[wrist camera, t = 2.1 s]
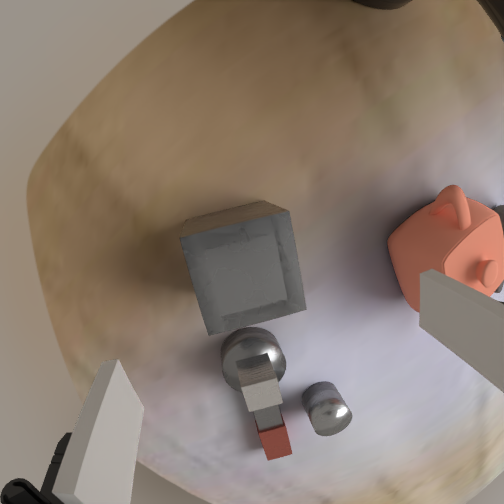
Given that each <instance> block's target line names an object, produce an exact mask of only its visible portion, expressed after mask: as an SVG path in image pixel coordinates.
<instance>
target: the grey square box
mask: <svg viewBox="0 0 504 504" xmlns="http://www.w3.org/2000/svg"><path fill="white" fill-rule="evenodd" d="M180 241H181V245H182V249H183V252H184V256H185V259H186V263H187V266H188V270H189V273H190V277H191V280H192V284H193V287H194V290H195V294H196V297H197V300H198V303H199V307H200V310H201V313H202V316H203V320H204V323H205V326H206V329H207V332H208V335H214V334H218V333H222V332H226V331H230V330H234V329H238V328H242V327H246V326H249V325H253V324H257V323H261V322H264V321H268V320H272V319H275V318H279V317H282V316H286V315H290V314H293V313H296V312H300V311H303V310H307V309H306V303H305V297H304V291H303V285H302V279H301V273H300V267H299V262H298V256H297V251H296V245H295V240H294V234H293V229H292V224H291V218H290V213H289V211H288V210H285V209H283V208H281V207H279V206H276V205H274V204H272V203H269V202H267V201H261V202H256V203H252V204H248V205H243V206H239V207H235V208H231V209H227V210H223V211H219V212H215V213H210V214H206V215H203V216H199V217H195V218H191V219H187V220H186V222H185V225H184V227H183V230H182V233H181V235H180Z"/></svg>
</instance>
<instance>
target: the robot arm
mask: <svg viewBox="0 0 504 504" xmlns="http://www.w3.org/2000/svg"><path fill="white" fill-rule="evenodd" d="M353 1H356V2H358V3H361V4H363V5H367V6H370V7H374V8H379V9H397V8H400V7H402V6H404V5H406V4H407V3H409V2H410V1H412V0H353ZM477 1H478V2H479V4H480V5H481V6H482V8H483V9H484V10H485V12H486V13H487V15H488V16H489V17H490V19H491V20H492V22H493V23H494V24H495V26H496V27H497V29H498V30H499V32H500V34H501V37H502V38H501V39H502V40H503V42H504V0H477ZM419 326H420V327H421V328H422V329H424V330H425V331H426V332H428V333H429V334H430V335H432V336H433V337H434V338H435V339H437V340H438V341H439V342H441V343H442V344H443V345H445V346H446V347H447V348H448V349H450V350H451V351H452V352H454V353H455V354H456V355H457V356H459V357H460V358H461V359H462V360H464V361H465V362H466V363H468V364H469V365H470V366H471V367H473V368H474V369H475V370H476V371H478V372H479V373H480V374H481V375H483V376H484V377H485V378H486V379H488V380H489V381H490V382H491V383H492V384H494V385H495V386H496V387H497V388H499V389H500V390H501V391H502V392H503V393H504V302H500V301H496V300H495V299H493V298H491V297H489V296H487V295H485V294H483V293H481V292H479V291H477V290H475V289H473V288H471V287H469V286H467V285H465V284H463V283H461V282H459V281H457V280H455V279H453V278H451V277H449V276H446V275H444V274H442V273H440V272H438V271H436V270H434V269H430V270H427V271H425V272H422V273H420V321H419ZM143 413H144V407H143V405H142V403H141V401H140V400H139V398H138V396H137V394H136V392H135V391H134V389H133V387H132V385H131V383H130V381H129V379H128V377H127V375H126V373H125V371H124V369H123V367H122V365H121V363H120V361H119V359H115V360H110V361H104V362H102V364H101V366H100V368H99V370H98V373H97V375H96V377H95V379H94V382H93V384H92V386H91V388H90V391H89V393H88V396H87V398H86V400H85V403H84V405H83V408H82V410H81V413H80V415H79V417H78V420H77V422H76V425H75V428H74V431H73V433H66V434H65V435H64V437H63V438H62V439H61V440H60V441H59V442H58V445H57V447H56V450H55V452H54V454H55V455H54V456H53V458H52V460H51V464H50V465H49V468H48V471H47V474H46V477H45V479H44V482H43V485H42V488H41V491H40V492H39V491H38V490H37V489H36V488H35V487H34V486H33V485H32V484H31V483H30V482H29V481H27V480H25V479H21V478H18V479H14V480H11V481H10V482H9V483H7V484H6V485H5V487H4V488H3V490H2V492H1V496H0V498H1V503H2V504H130V502H131V493H132V485H133V477H134V470H135V463H136V456H137V449H138V443H139V437H140V431H141V425H142V419H143Z"/></svg>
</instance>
